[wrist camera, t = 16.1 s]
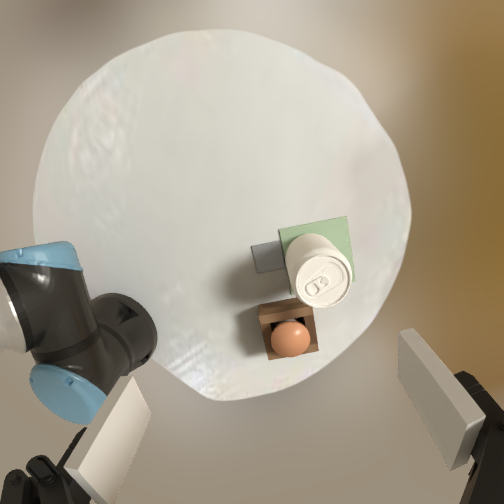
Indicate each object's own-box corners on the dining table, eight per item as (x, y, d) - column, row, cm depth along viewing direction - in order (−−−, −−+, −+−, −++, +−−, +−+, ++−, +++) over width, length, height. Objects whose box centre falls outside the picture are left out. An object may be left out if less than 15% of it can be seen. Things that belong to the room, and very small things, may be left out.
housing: (268, 346, 54) (268, 360, 50) (258, 304, 52) (258, 316, 48) (314, 337, 53) (318, 350, 49) (308, 295, 51) (312, 305, 47)
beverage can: (343, 260, 50) (366, 285, 38) (304, 290, 51) (316, 323, 39) (315, 222, 48) (331, 236, 37) (274, 253, 50) (278, 277, 38)
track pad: (257, 272, 51) (257, 273, 51) (251, 246, 50) (251, 246, 50) (285, 267, 50) (285, 267, 50) (279, 240, 49) (279, 240, 49)
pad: (291, 293, 51) (291, 294, 51) (279, 229, 49) (279, 229, 49) (355, 280, 50) (355, 280, 50) (346, 216, 48) (346, 216, 48)
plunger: (273, 341, 53) (274, 360, 47) (267, 311, 52) (267, 327, 46) (307, 335, 52) (312, 353, 47) (302, 304, 51) (307, 320, 45)
